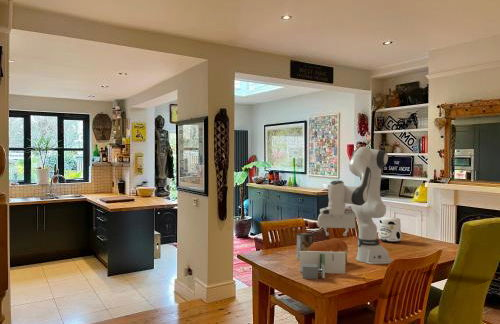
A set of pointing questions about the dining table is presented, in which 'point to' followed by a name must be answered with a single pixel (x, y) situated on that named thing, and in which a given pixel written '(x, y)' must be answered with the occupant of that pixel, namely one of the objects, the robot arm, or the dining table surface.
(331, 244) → the bread
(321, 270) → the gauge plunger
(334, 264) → the gauge housing
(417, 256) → the dining table surface
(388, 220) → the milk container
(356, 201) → the robot arm
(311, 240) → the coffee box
